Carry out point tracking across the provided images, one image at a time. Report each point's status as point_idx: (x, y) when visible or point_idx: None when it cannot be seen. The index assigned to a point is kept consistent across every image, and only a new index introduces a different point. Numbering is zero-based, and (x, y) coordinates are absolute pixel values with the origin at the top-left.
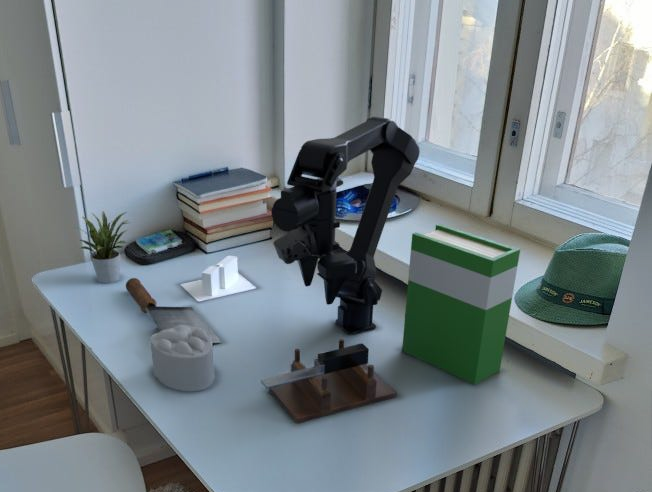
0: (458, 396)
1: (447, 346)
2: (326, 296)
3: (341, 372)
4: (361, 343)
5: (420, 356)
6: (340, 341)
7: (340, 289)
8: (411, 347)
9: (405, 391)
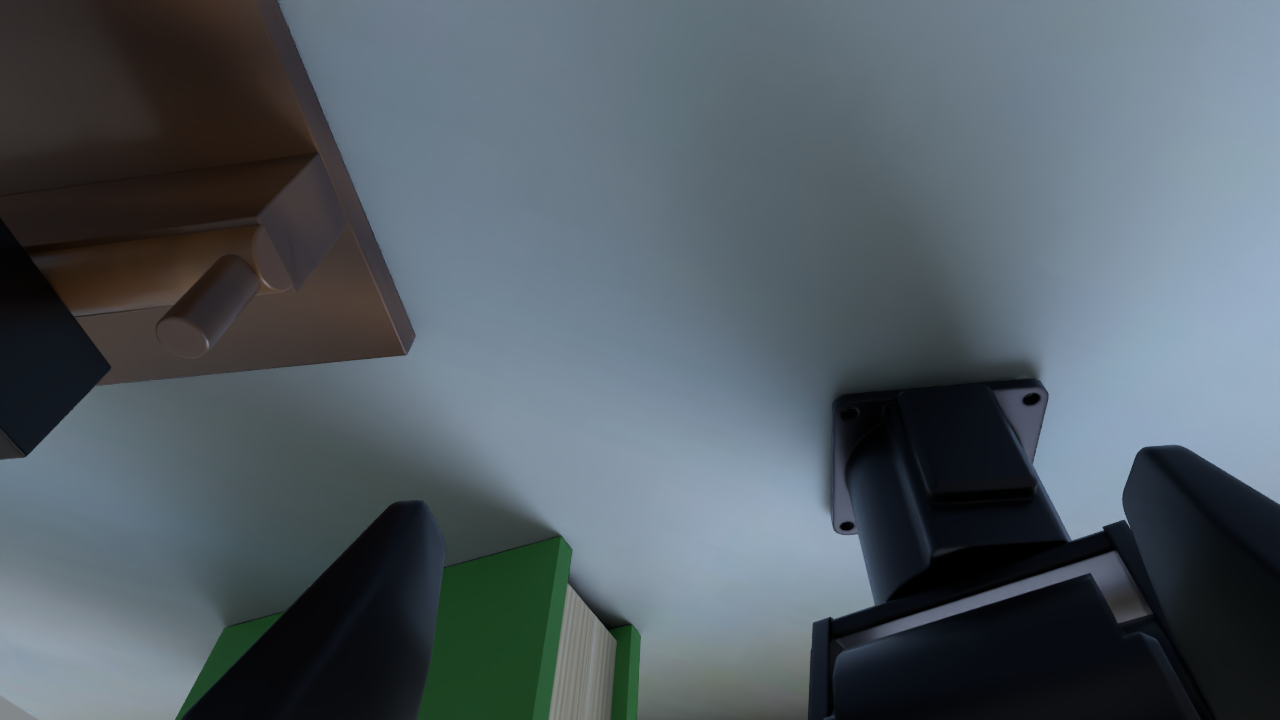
0: (123, 562)
1: None
2: (314, 606)
3: (193, 181)
4: (20, 452)
5: (457, 574)
6: (161, 320)
7: (1005, 636)
8: (503, 582)
9: (142, 420)
